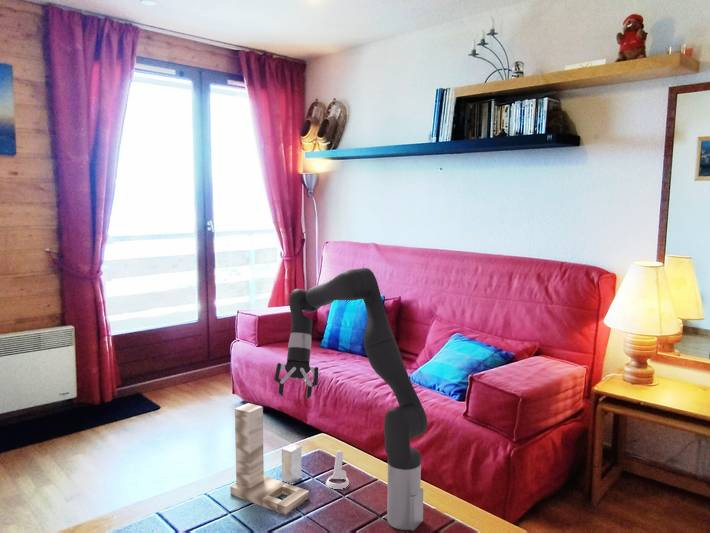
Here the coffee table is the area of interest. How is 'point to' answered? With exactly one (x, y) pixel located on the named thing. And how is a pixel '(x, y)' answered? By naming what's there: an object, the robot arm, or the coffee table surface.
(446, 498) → the coffee table surface
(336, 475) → the white vr controller
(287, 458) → the smooth gray rectangular block
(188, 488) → the coffee table surface
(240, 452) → the beam with square loop
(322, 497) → the coffee table surface
